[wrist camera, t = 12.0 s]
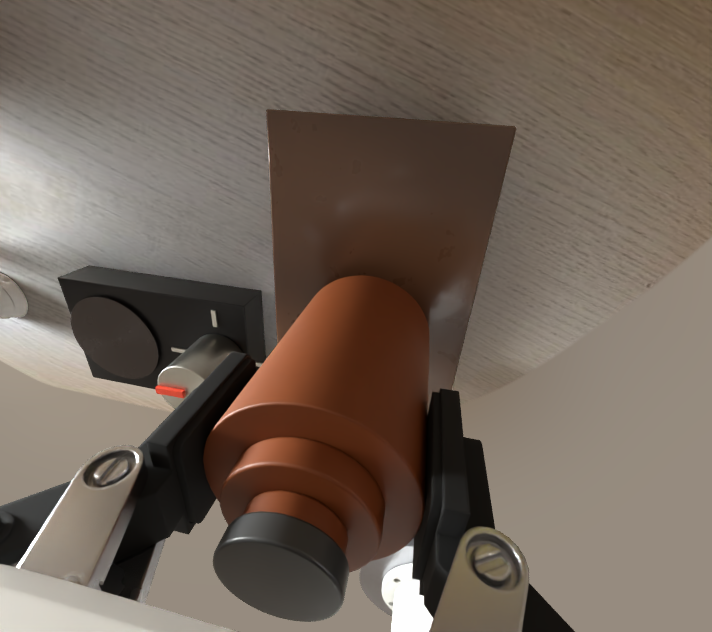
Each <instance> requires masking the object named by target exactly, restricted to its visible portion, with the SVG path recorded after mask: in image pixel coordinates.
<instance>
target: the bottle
mask: <svg viewBox="0 0 712 632" xmlns="http://www.w3.org/2000/svg"><path fill="white" fill-rule="evenodd" d="M429 340H430V337H429V327H428V322H427V320H426V317H425V315H424V313H423V311H422V309H421V307H420V306H419V304H418V303H417V302H416V300H415V299H414V298H413V297H412V296H411V295H410V294H409V293H407V292H406V291H405V290H404V289H402V288H401V287H399V286H397V285H396V284H394V283H392V282H390V281H387V280H384V279H381V278H378V277H373V276H363V275H360V276H349V277H344V278H341V279H338V280H335V281H333V282H331V283H329V284H328V285H326V286H325V287H323V288H322V289H321V290H320V291H319V292H318V293H317V294H316V295H315V296H314V298H313V299H312V300H311V301H310V303H309V304H308V305H307V307H306V308H305V309H304V310H303V312H302V313H301V314H300V316H299V317H298V318H297V320H296V321H295V322H294V324H293V325H292V326H291V327H290V329H289V330H288V331H287V333H286V334H285V335H284V337H283V338H282V339H281V340H280V342H279V343H278V344H277V346H276V347H275V348H274V350H273V351H272V352H271V353H270V355H269V356H268V357H267V359H266V360H265V361H264V363H263V364H262V365H261V366H260V368H259V369H258V370H257V372H256V373H255V374H254V376H253V377H252V378H251V379H250V381H249V382H248V383H247V385H246V386H245V387H244V389H243V390H242V391H241V392H240V394H239V395H238V396H237V398H236V399H235V400H234V402H233V403H232V404H231V406H230V407H229V408H228V409H227V411H226V412H225V413H224V415H223V416H222V417H221V419H220V420H219V421H218V422H217V424H216V425H215V426H214V428H213V429H212V430H211V432H210V434H209V436H208V438H207V440H206V444H205V447H204V455H203V463H204V470H205V474H206V478H207V481H208V483H209V485H210V488H211V490H212V491H213V493H214V495H215V496H216V498H217V499H218V501H219V502H220V507H221V510H222V514H223V516H224V518H225V520H226V522H227V523H228V525H229V526H228V527H227V529H226V531H225V533H224V535H223V537H222V539H221V541H220V542H219V544H218V546H217V548H216V550H215V553H214V557H213V566H214V570H215V572H216V574H217V576H218V578H219V579H220V581H221V582H222V583H223V585H224V586H225V587H226V588H227V589H228V590H229V591H230V592H232V593H233V594H234V595H235V596H236V597H238V598H239V599H241V600H242V601H244V602H245V603H247V604H248V605H250V606H252V607H254V608H256V609H258V610H260V611H262V612H265V613H267V614H270V615H273V616H276V617H279V618H283V619H288V620H294V621H305V622H311V621H320V620H324V619H327V618H330V617H332V616H333V615H335V614H336V613H337V612H338V611H339V609H340V608H341V606H342V604H343V601H344V596H345V591H346V586H347V581H348V576H349V572H352V571H355V570H358V569H360V568H362V567H364V566H366V565H367V564H368V563H369V562H371V561H374V560H379V559H382V558H385V557H387V556H390V555H392V554H394V553H396V552H398V551H399V550H401V549H402V548H403V547H405V546H406V545H407V544H408V543H409V542H410V541H411V540H412V539H413V538H414V537H415V535H416V534H417V532H418V530H419V529H420V526H421V522H422V518H423V514H424V509H425V483H426V447H427V413H428V377H429Z"/></svg>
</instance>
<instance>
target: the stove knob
mask: <svg viewBox="0 0 712 632" xmlns="http://www.w3.org/2000/svg"><path fill="white" fill-rule="evenodd" d="M231 352H239V353H242V351H241V350H240V348H239V347H238V346H237V345H236V344H235V343H234V342H233V341H231V340H230V339H228V338H226V337H224V336H221V335H217V334H208V335H204V336H202V337H200V338H199V339H198V340H197V341H196V342H195V343H193V344H192V345H191V346H190V347H189V348H188V349H187V350H185V351H184V352H183V353H182V354H181V355H180V356H179V357H178V358H176V359H175V360H174V361H173V362H172V363H171V364H170V365H168V366H167V367H166V368H165V369H164V370H163V371H162V372H161V373H160V375H159V377H158V385H157V386H156V387H155V389H156V393H157V394H161V395H162V396H163V398H164V399H165V400H166V402H167V403H168V404H169V405H171V406H172V407H173V408H174V409H176V408H177V407H178V406H179V405H180V404H181V403H182V402H183V401H184V399H185V398H186V397H187V396H188V395H189V394H190V393H191V392H192V391H193V390H194V389H196V388H197V387H198V386H199V385H200V384H201V383H202V382H203V381H204V380H205V379H206V378H207V377H208V376H209V375H210V374H211V373H212V372H213V371H214V370H215V369H216V368H217V366H218V365H219V364H220V363H221V362H222V361H223V360H224V359H225V358H226V357H227V356H228V355H229V354H230V353H231Z"/></svg>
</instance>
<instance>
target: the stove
mask: <svg viewBox="0 0 712 632" xmlns="http://www.w3.org/2000/svg"><path fill="white" fill-rule="evenodd" d="M58 280H59V283H60V286H61V289H62V292H63V294H64V297H65V300H66V303H67V305H68V308H69V311H70V314H71V313H72V310H73V308H74V306H75V305H76V304H77V303H78V302H79V301H80V300H82V299H84V298H87V297H90V296H98V295H99V296H106V297H111V298H113V299H116V300H118V301H121V302H123V303H124V304H126V305H128V306H129V307H131V308H132V309H134V310H135V311H136V312H137V313H138V314H139V315H140V316H141V317H142V318H143V319H144V320H145V321H146V322H147V323H148V324H149V326H150V327H151V329H152V330H153V332H154V334H155V336H156V338H157V340H158V343H159V347H160V361H159V364H158V366H157V368H156V369H155V370H154V371H153V372H152V373H151V374H149V375H148V376H146V377H143V378H138V379H130V378H124V377H120V376H117V375H115V374H113V373H110V372H109V371H107V370H105V369H103V368H102V367H100V366H99V365H98V364H96V363H95V362H94V361H93V360H92V359H91V358H90V357H89V356H88V355H87V354H86V353H85V352H84V353H85V355H86V358H87V361H88V364H89V367H90V369H91V372H92V375H93V377H96V378H101V379H106V380H111V381H116V382H121V383H126V384H131V385H136V386H141V387H147V388H152V389H155V387H156V386H157V385H158V377H159V375H160V373H161V372H162V371H163V370H164V369H165V368H166V367H167V366H168V365H170V364H171V363H172V362H173V361H174V360H175V359H176V358H178V357H179V356H180V355H181V354H182V353H183V352H184V351H185V350H187V349H188V348H189V347H190V346H191V345H192V344H193V343H195V342H196V341H197V340H198V339H199V338H200V337H202V336H204V335H208V334H217V335H221V336H224V337H226V338H228V339H230V340H231V341H233V342H234V343H235V344H236V345H237V346H238V347H239V348H240V350H241V351H242V353H244V354H249V355H250V356H251V359H253V360H255V362H256V372H257V370H258V369H259V368H260V366H261V365H262V364H263V363H264V361H265V360H266V355H265V340H264V325H263V311H262V296H261V291H259V290H252V289H246V288H239V287H232V286H225V285H218V284H211V283H205V282H198V281H191V280H184V279H177V278H171V277H164V276H157V275H150V274H143V273H136V272H130V271H123V270H116V269H109V268H102V267H95V266H87V267H84V268H81V269H79V270H76V271H74V272H71V273H68V274H66V275H63V276H61V277H58Z"/></svg>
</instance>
